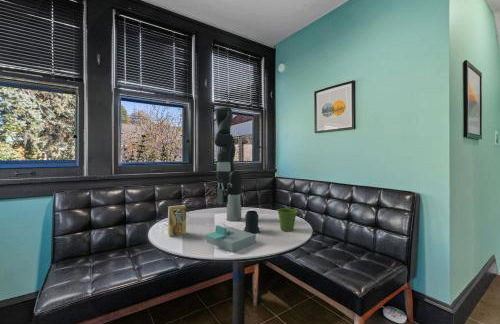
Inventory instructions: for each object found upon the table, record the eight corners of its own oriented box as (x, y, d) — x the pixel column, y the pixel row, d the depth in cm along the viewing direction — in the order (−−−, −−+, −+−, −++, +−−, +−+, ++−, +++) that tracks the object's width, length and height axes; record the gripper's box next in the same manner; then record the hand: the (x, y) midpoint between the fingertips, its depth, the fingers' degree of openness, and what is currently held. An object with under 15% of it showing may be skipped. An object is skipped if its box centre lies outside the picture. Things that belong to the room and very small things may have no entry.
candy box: (184, 232, 127) (184, 204, 127) (186, 234, 123) (186, 206, 123) (167, 234, 122) (167, 206, 122) (169, 236, 119) (169, 207, 118)
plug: (223, 202, 127) (223, 185, 127) (227, 203, 124) (228, 185, 124) (217, 203, 124) (217, 185, 124) (222, 204, 121) (222, 186, 121)
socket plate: (230, 234, 123) (230, 226, 123) (255, 242, 111) (255, 234, 111) (206, 242, 112) (206, 234, 111) (231, 252, 99) (231, 243, 99)
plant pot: (296, 234, 124) (296, 213, 124) (274, 231, 128) (275, 211, 128) (298, 227, 136) (298, 209, 135) (279, 225, 139) (279, 207, 139)
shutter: (217, 233, 112) (217, 225, 112) (227, 236, 107) (227, 228, 107) (205, 236, 107) (205, 228, 107) (215, 240, 102) (215, 231, 102)
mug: (259, 234, 124) (259, 213, 124) (242, 233, 125) (242, 213, 125) (260, 227, 136) (260, 209, 135) (245, 227, 137) (245, 208, 137)
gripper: (210, 169, 127) (209, 200, 127) (226, 171, 117) (225, 204, 117) (220, 169, 132) (220, 199, 132) (237, 170, 122) (236, 202, 122)
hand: (222, 201), depth 124 cm, fingers closed on plug, 4 cm apart
